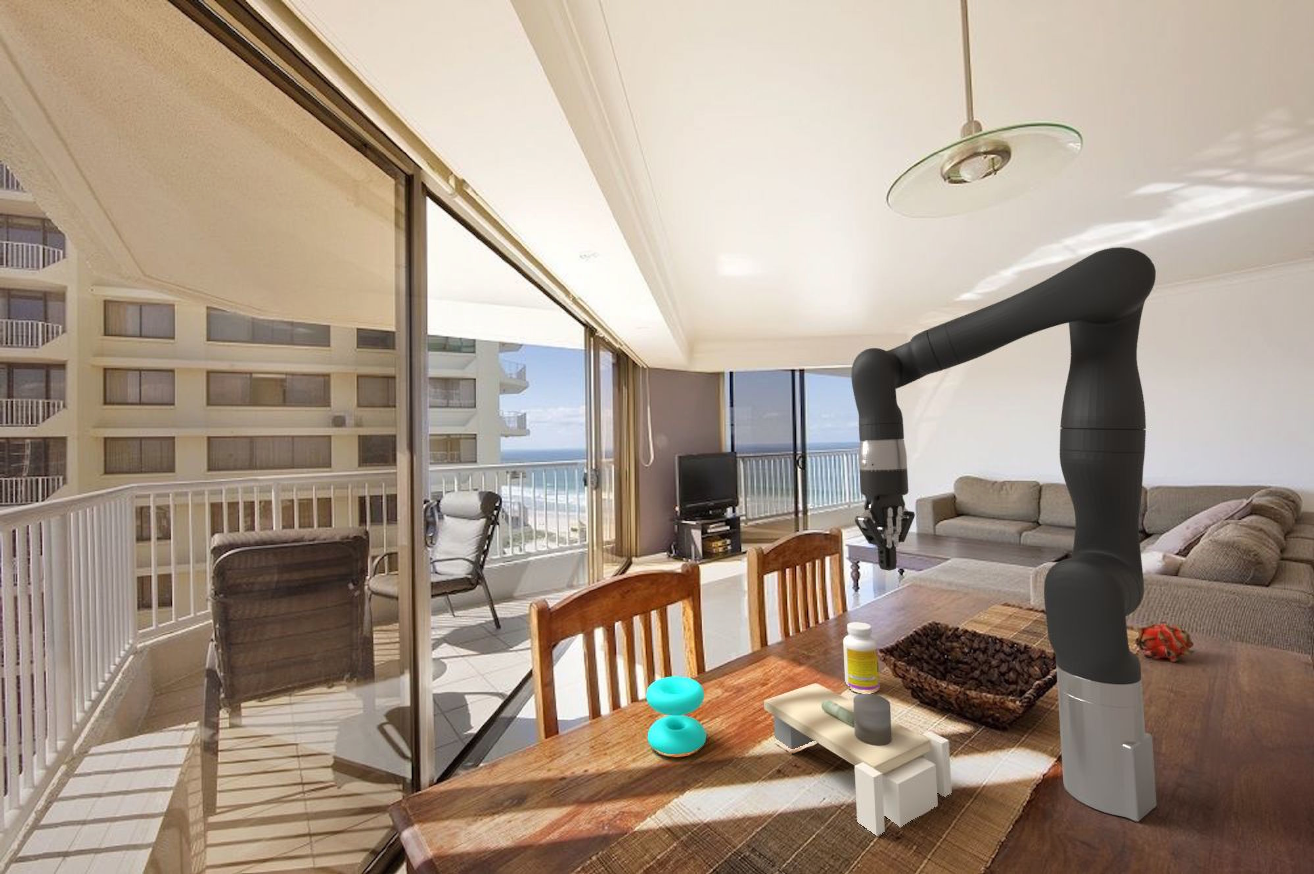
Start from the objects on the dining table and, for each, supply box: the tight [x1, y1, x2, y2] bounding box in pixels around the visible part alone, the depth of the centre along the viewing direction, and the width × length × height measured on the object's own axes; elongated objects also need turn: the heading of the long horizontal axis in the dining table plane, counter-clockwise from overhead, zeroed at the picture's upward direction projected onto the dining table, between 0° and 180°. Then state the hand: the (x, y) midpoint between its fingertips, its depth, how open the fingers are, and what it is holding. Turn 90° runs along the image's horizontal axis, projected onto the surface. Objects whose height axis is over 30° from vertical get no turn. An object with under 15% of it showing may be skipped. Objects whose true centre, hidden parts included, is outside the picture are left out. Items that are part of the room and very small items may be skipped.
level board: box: [763, 682, 931, 774], centre depth 83 cm, size 22×12×6 cm, turn 29°
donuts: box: [645, 676, 707, 754], centre depth 91 cm, size 10×10×10 cm
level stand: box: [773, 715, 953, 837], centre depth 82 cm, size 24×16×8 cm, turn 29°
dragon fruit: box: [1134, 621, 1195, 663], centre depth 119 cm, size 8×8×12 cm
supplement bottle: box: [842, 621, 880, 690], centre depth 110 cm, size 7×7×13 cm
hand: (888, 569), depth 90 cm, fingers closed
